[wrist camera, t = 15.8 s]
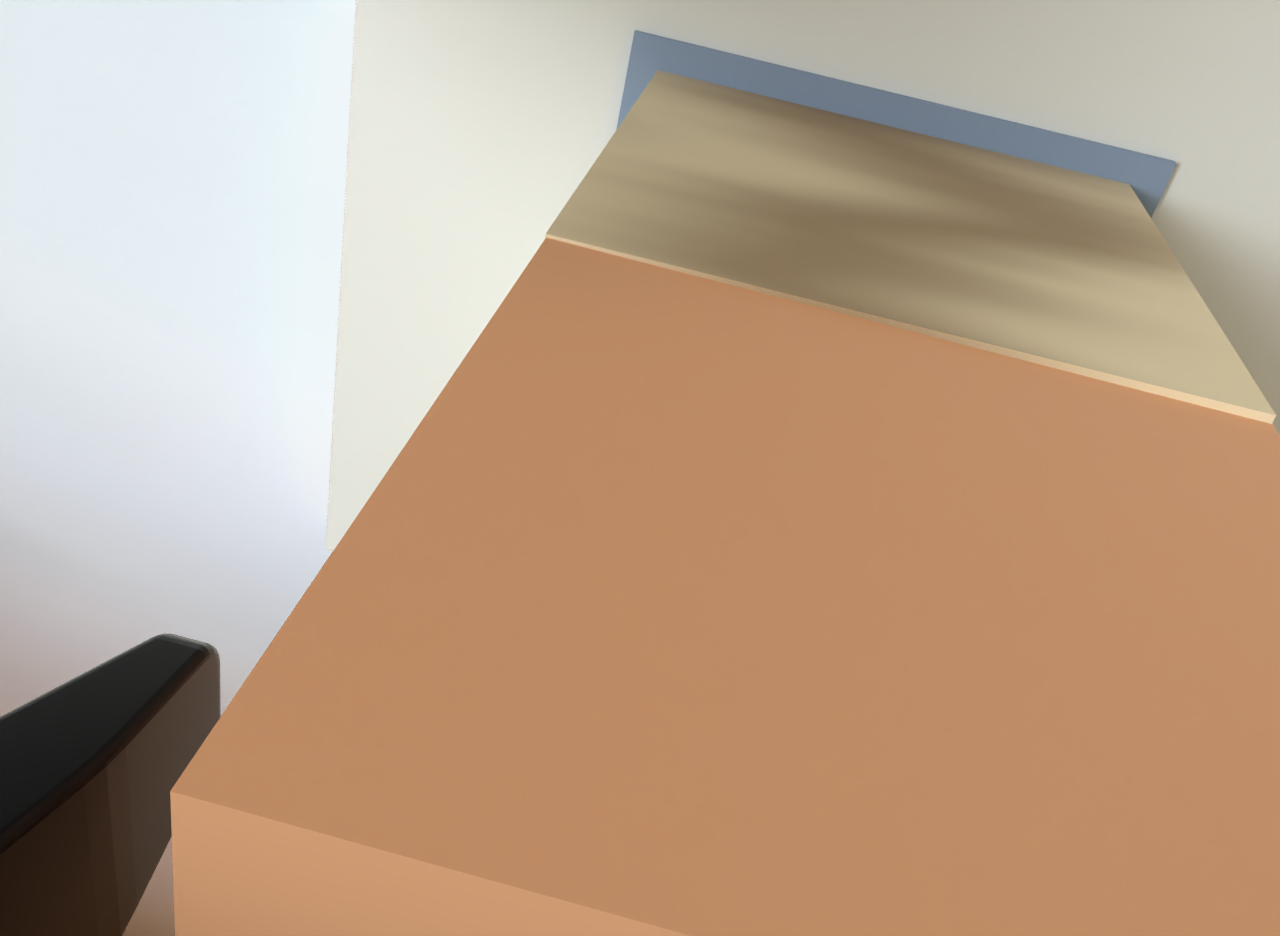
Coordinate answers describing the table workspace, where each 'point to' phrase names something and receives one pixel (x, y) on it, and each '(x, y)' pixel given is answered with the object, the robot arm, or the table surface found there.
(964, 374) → the terracotta cube
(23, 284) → the table surface
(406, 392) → the cream flat panel
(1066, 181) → the birch cube
